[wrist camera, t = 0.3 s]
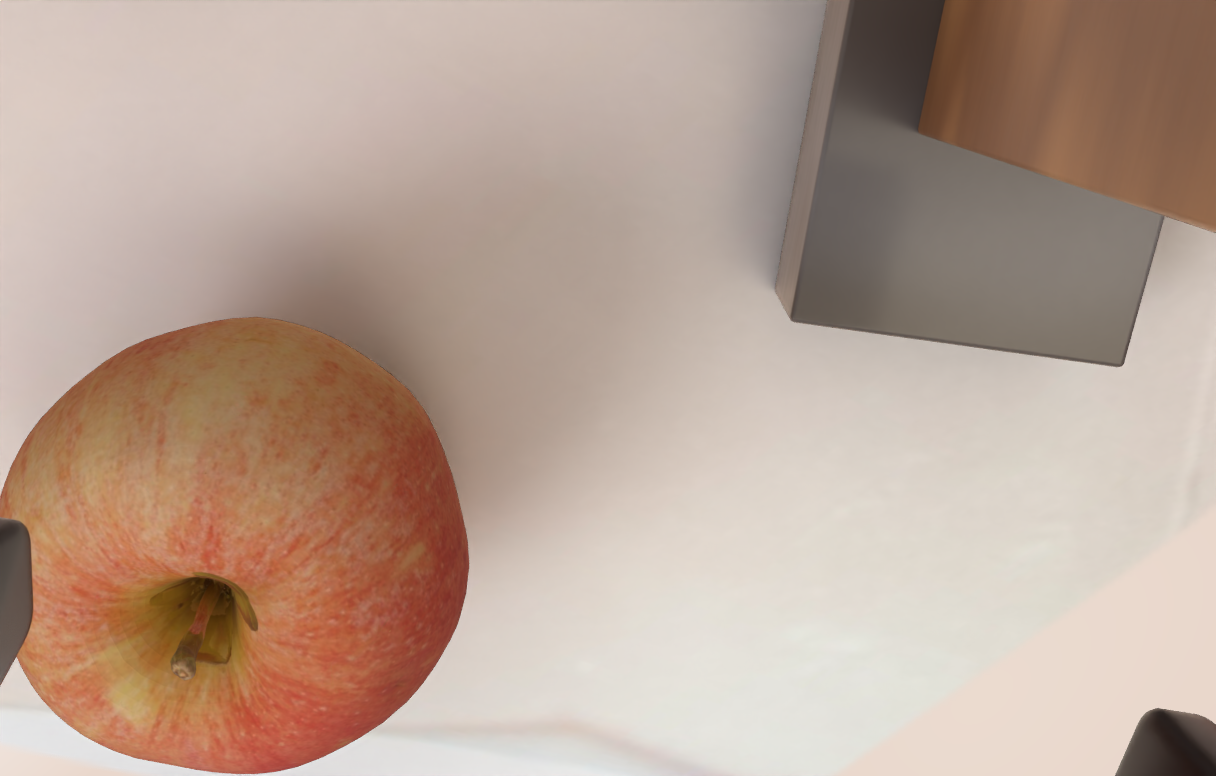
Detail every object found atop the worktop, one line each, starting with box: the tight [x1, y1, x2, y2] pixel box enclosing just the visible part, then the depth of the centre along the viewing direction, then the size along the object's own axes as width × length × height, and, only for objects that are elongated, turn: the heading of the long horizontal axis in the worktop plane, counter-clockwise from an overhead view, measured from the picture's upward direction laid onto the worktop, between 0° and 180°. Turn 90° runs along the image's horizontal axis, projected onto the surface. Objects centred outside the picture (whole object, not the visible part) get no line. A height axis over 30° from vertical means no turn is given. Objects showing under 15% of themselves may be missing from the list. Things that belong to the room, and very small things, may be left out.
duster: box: [775, 0, 1216, 367], centre depth 14 cm, size 10×6×15 cm, turn 172°
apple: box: [0, 317, 469, 774], centre depth 20 cm, size 8×8×8 cm
